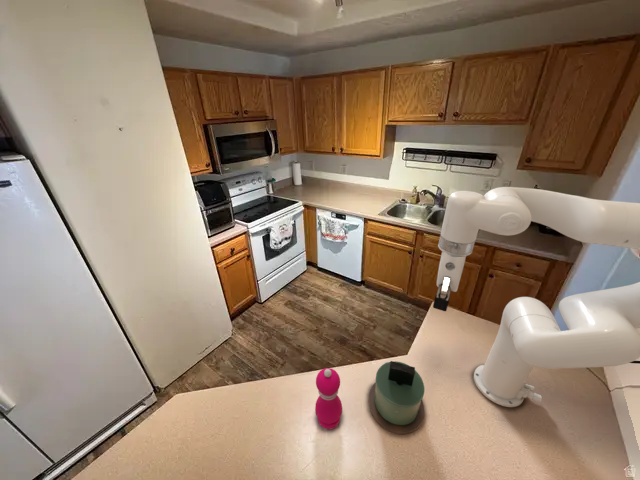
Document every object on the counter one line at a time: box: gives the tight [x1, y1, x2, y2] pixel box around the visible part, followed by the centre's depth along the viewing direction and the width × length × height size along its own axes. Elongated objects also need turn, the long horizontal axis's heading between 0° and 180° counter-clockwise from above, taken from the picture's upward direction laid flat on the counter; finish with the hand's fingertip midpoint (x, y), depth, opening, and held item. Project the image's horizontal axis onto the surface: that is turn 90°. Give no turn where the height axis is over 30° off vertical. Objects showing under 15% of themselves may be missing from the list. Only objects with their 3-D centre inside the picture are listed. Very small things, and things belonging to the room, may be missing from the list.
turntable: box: [368, 381, 425, 435], centre depth 73 cm, size 15×15×1 cm
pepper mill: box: [314, 367, 343, 430], centre depth 66 cm, size 7×7×20 cm
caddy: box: [374, 360, 425, 425], centre depth 69 cm, size 12×12×15 cm
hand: (442, 297), depth 70 cm, fingers open, 9 cm apart
